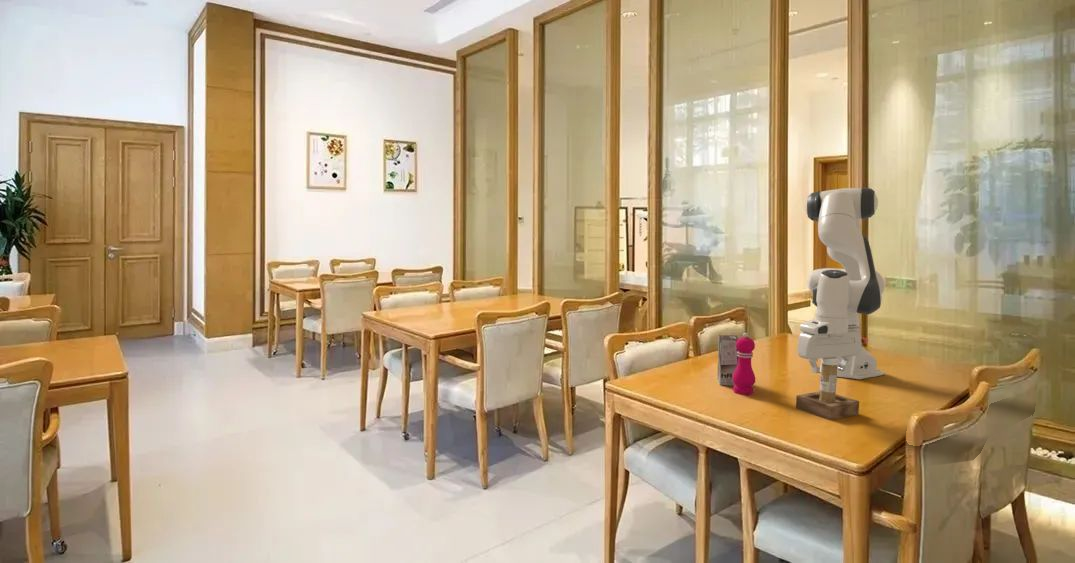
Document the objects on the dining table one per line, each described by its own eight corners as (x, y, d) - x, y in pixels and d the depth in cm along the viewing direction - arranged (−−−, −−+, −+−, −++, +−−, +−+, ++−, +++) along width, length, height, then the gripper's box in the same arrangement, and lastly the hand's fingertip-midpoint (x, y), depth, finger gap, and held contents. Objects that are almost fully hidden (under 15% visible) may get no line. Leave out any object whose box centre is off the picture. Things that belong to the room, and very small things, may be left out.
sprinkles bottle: (815, 399, 181) (817, 355, 179) (829, 398, 182) (831, 355, 180) (825, 404, 176) (827, 359, 175) (839, 403, 177) (841, 358, 176)
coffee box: (738, 386, 206) (740, 340, 204) (719, 385, 207) (721, 339, 205) (735, 379, 215) (737, 335, 213) (716, 378, 216) (718, 334, 214)
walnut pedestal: (823, 403, 187) (823, 390, 187) (858, 414, 177) (859, 401, 176) (795, 408, 182) (796, 395, 182) (830, 420, 171) (831, 406, 171)
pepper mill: (728, 389, 202) (730, 330, 200) (749, 388, 203) (751, 330, 201) (737, 395, 195) (739, 334, 193) (758, 395, 196) (761, 334, 194)
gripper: (851, 322, 183) (849, 366, 184) (795, 325, 177) (793, 371, 178) (868, 325, 176) (865, 371, 178) (810, 329, 171) (808, 376, 172)
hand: (828, 371), depth 178 cm, fingers open, 8 cm apart
